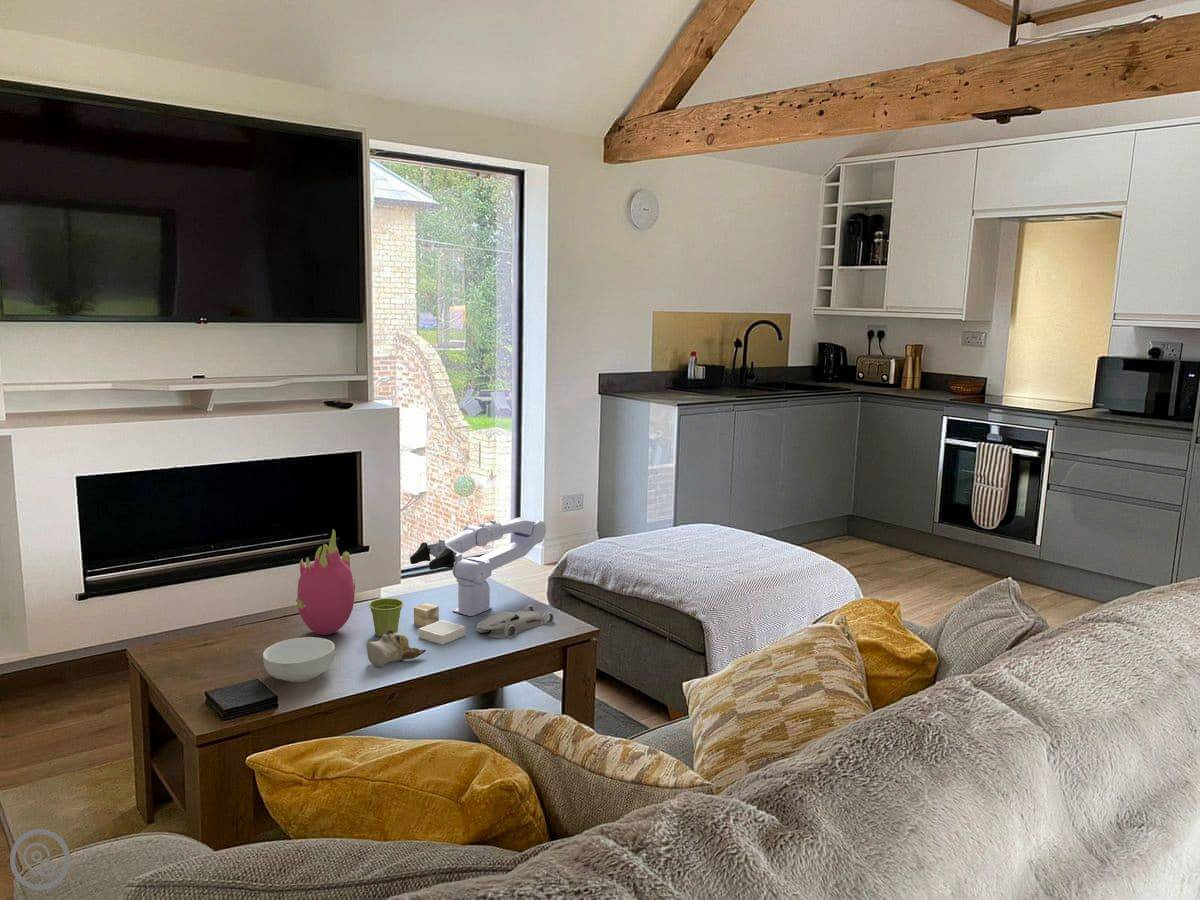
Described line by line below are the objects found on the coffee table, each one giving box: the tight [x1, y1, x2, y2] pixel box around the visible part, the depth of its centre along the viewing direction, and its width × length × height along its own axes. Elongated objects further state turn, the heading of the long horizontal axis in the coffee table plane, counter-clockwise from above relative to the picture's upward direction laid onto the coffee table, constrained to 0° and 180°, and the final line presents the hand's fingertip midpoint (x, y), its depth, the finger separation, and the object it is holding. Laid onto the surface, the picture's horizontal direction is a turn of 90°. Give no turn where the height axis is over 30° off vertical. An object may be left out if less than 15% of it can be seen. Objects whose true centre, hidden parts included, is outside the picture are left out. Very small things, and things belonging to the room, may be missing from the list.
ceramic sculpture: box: [366, 630, 427, 668], centre depth 231 cm, size 11×9×15 cm
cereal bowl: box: [262, 636, 336, 683], centre depth 221 cm, size 17×17×7 cm
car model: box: [476, 604, 555, 639], centre depth 258 cm, size 11×24×5 cm, turn 136°
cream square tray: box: [418, 619, 466, 645], centre depth 249 cm, size 9×9×3 cm
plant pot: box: [368, 597, 404, 637], centre depth 250 cm, size 9×9×9 cm
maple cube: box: [413, 602, 440, 627], centre depth 259 cm, size 5×5×5 cm
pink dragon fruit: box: [295, 528, 356, 636], centre depth 248 cm, size 18×14×30 cm
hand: (420, 563), depth 252 cm, fingers open, 7 cm apart
